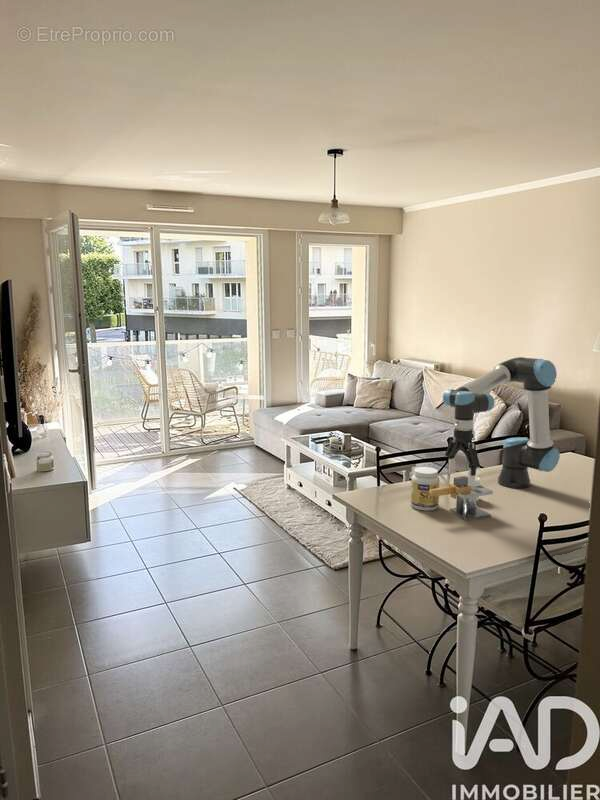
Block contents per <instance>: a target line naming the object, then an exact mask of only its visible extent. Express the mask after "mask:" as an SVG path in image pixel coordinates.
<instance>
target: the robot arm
mask: <svg viewBox="0 0 600 800" xmlns="http://www.w3.org/2000/svg"><path fill="white" fill-rule="evenodd" d="M556 379H557V369H556V366H555V364H554V363H553V362H552V361H550V360H548V359H543V358H534V357H533V358H532V357H531V358H530V357H524V356H523V357H521V356H520V357H519V356H518V357H514V358H511V359H507V360H505V361H502V362H501V363H497V364H496V365H495V366H494V367H493V369H492V370H490V371H488V372H486V373H485V374H483V375H481V376H479V377H477V378H476V379H474V380H472V381H470V382H468V383H466V384H464V385H462V386H459V387H458V388H456V389H453V388H451V389H450V388H449V389H447V390H445V391H444V392H443V395H442V402H443V403H444V405H446V406H448V407H451V408H454V424H453V425H454V426H453V427H454V429H453V436H450V438H449V439H450V440H449V443H448V446H447V448H446V451H445V454H444V456H445V457H447V459H448V462H447V465H448V472H447V473H448V475H452V474H453V475H454V474H455V468H456V458H455V456H456V455H457V454H458V453H459V451H461V452H463V454H464V455H465V457H466V459H467V462H468V465H469V466H468V475H469V476H468V483H474V482H475V476H476V475H477V468H480V467H481V463H480V459H479V456H478V451H477V445H476V443H475V442H473V443H471V441H472V438H473V435H474V433H473V432H474V430H473V428H474V414H479V413H483V412H485V413H486V412H488V411H491V410H492V409H493V408H494V406H495V398H494V397H493V396H492V395H491V394H490V393H487V392H490V391H492V390H493V389H495V388H497V387H498V386H500V385H506V384H508V383H511V382H513V383H523V390H524V391H526V392H527V401H528V402H527V403H528V405H527V406H528V420H529V421H528V422H529V425H528V426H529V438H528V437H520V436H518V437H509V438H506V439H505V440H504V441H503V447H502V448H503V449H502V450H503V451H502V466H501V470H500V473H499V475H498V477H497V483H498V484H499V486H500V485H501V486H503V487H505V488H511V489H526V488H529V487H530V486H531V479H530V475H529V472H528V468H529V469H534V470H537V471H539V472H544V473H545V472H547V473H549V472H552V471H553V470H554V469H555V468H556V467H557V465H558V464H559V461H560V457H561V455H560V453H561V452H560V451H559V449H557V448H555V447H554V446H555V444H554V441H553V440H552V439H551V433H550V432H551V431H550V415H549V414H550V412H549V411H550V410H549V391H550V390H551V388H552V386H553V385H554V384H555V382H556Z"/></svg>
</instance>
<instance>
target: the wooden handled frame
mask: <svg viewBox="0 0 600 800" xmlns="http://www.w3.org/2000/svg"><path fill="white" fill-rule="evenodd" d="M448 486H449V487H446V486H445V487H439V488H438V489H431V490H430V491H429V494H430V496H431V497H434V496H439V497H440V496H446V495H450V496H449V497H450V498H452V499H453V500H457V495H456V492H457V493H463V492H469V491H471V487H470V486H468V485H464V487H458V486H455V485H454V482H453V483H449V484H448Z"/></svg>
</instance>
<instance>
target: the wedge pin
mask: <svg viewBox="0 0 600 800" xmlns="http://www.w3.org/2000/svg"><path fill="white" fill-rule="evenodd" d="M453 483H454V485H455V486H458V487H464V485H467V484H468V477H466V476H465V475H462V476H456V477H453ZM455 501H456V504H455V505H456V507H455V508H456V514H458V515H463V510H464V506H465V501H464V499H463V498H461V497H459V496H457V495H456V500H455ZM456 514H455V515H456ZM458 515H457V516H458Z"/></svg>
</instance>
